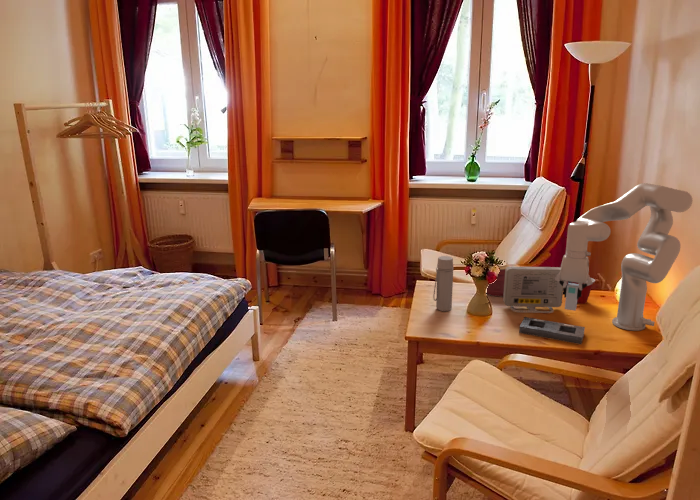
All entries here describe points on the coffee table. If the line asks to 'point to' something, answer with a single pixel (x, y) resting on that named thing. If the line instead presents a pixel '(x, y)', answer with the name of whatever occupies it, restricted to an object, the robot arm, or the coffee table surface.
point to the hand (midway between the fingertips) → (571, 296)
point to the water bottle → (444, 283)
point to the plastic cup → (585, 293)
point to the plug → (571, 296)
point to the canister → (498, 282)
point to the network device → (532, 288)
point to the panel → (552, 330)
